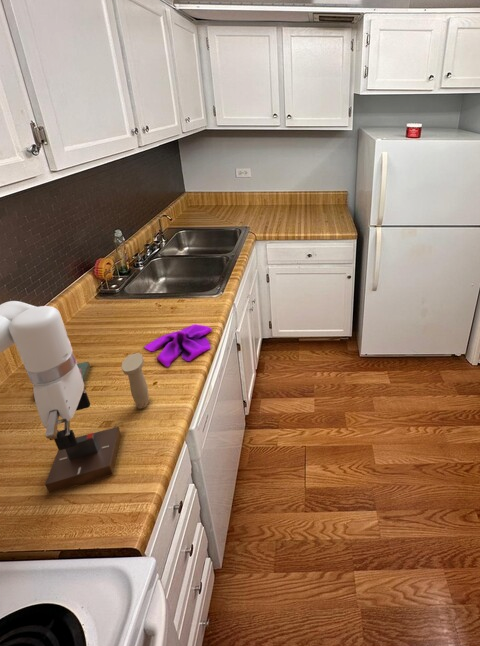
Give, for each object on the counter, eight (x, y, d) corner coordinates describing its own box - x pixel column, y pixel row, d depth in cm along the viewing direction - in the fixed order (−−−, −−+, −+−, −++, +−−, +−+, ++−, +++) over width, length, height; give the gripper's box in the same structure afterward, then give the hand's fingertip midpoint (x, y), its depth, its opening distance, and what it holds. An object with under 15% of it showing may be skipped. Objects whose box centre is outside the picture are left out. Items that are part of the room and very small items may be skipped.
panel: (48, 493, 70) (44, 484, 69) (65, 450, 79) (61, 440, 78) (112, 474, 74) (109, 465, 73) (121, 434, 83) (118, 425, 82)
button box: (36, 399, 93) (31, 388, 91) (48, 375, 100) (44, 365, 99) (81, 388, 96) (78, 378, 94) (90, 366, 104) (87, 356, 102)
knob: (69, 460, 74) (63, 445, 72) (71, 453, 75) (66, 439, 74) (97, 452, 76) (92, 437, 74) (99, 445, 77) (94, 431, 75)
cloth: (211, 322, 125) (209, 308, 123) (216, 355, 109) (214, 340, 106) (145, 336, 117) (142, 322, 115) (140, 374, 101) (137, 358, 99)
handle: (132, 416, 88) (120, 373, 82) (134, 397, 93) (123, 355, 88) (152, 411, 89) (141, 368, 84) (153, 392, 95) (143, 351, 89)
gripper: (47, 341, 73) (69, 399, 79) (8, 406, 57) (39, 471, 64) (86, 334, 75) (104, 391, 81) (59, 394, 60) (84, 458, 66)
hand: (75, 426), depth 72 cm, fingers open, 9 cm apart
